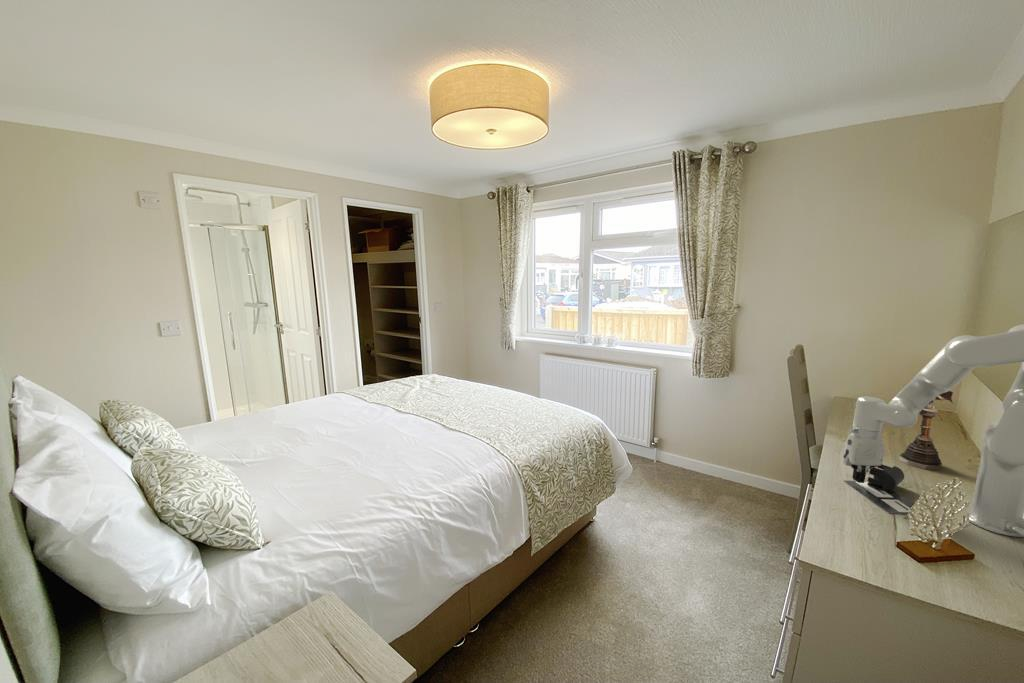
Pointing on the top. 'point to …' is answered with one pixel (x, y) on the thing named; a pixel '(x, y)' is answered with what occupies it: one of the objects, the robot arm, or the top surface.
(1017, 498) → the robot arm
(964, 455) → the top surface
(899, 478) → the end cap
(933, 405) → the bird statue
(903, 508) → the near label
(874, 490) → the far label
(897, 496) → the label panel
